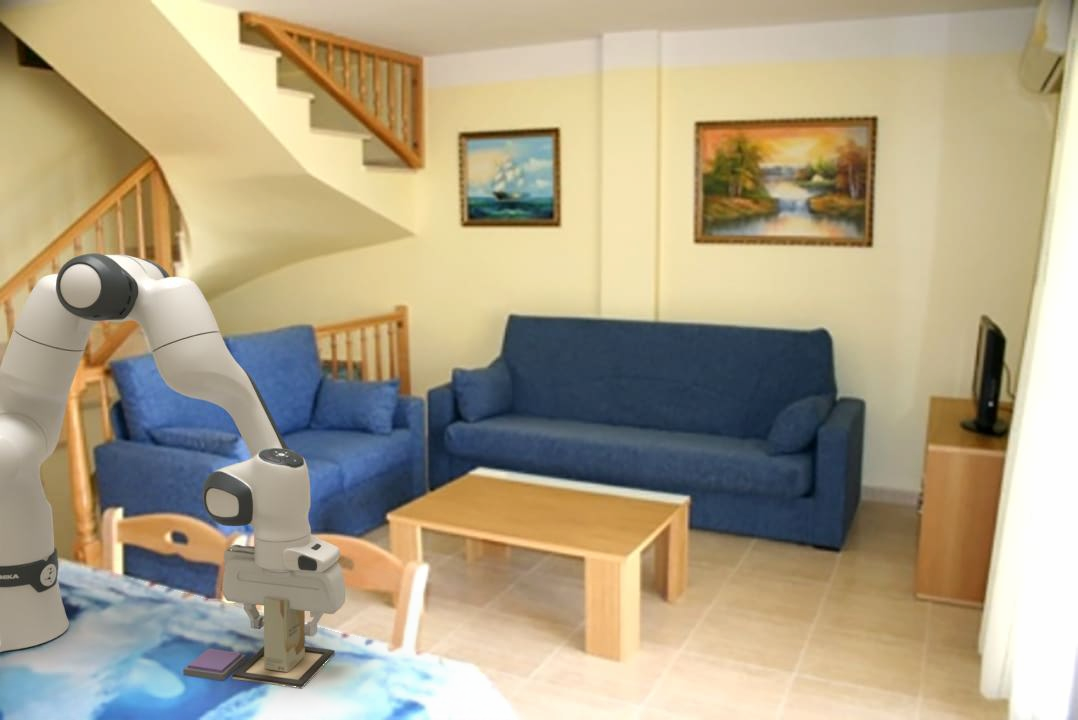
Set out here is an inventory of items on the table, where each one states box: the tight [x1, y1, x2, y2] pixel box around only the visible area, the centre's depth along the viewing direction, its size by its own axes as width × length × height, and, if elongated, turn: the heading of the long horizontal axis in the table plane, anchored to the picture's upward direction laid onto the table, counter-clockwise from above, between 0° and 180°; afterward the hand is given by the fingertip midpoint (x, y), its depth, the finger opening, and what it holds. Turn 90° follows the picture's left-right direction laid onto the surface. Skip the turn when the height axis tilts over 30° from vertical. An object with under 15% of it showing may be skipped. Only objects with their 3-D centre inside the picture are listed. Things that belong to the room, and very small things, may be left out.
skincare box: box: [263, 597, 306, 672], centre depth 153 cm, size 6×4×12 cm
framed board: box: [231, 645, 335, 688], centre depth 154 cm, size 12×12×1 cm
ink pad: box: [182, 648, 247, 682], centre depth 153 cm, size 7×7×2 cm
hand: (284, 631), depth 153 cm, fingers open, 8 cm apart
